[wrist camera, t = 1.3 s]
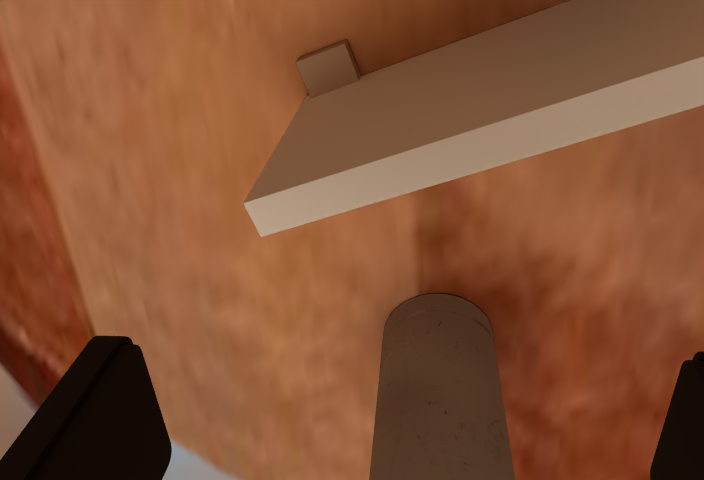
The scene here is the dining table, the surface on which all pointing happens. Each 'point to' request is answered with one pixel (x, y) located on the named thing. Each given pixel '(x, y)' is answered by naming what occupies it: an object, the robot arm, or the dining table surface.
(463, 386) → the thermos bottle
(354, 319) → the dining table surface
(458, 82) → the screen
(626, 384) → the dining table surface
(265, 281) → the dining table surface
